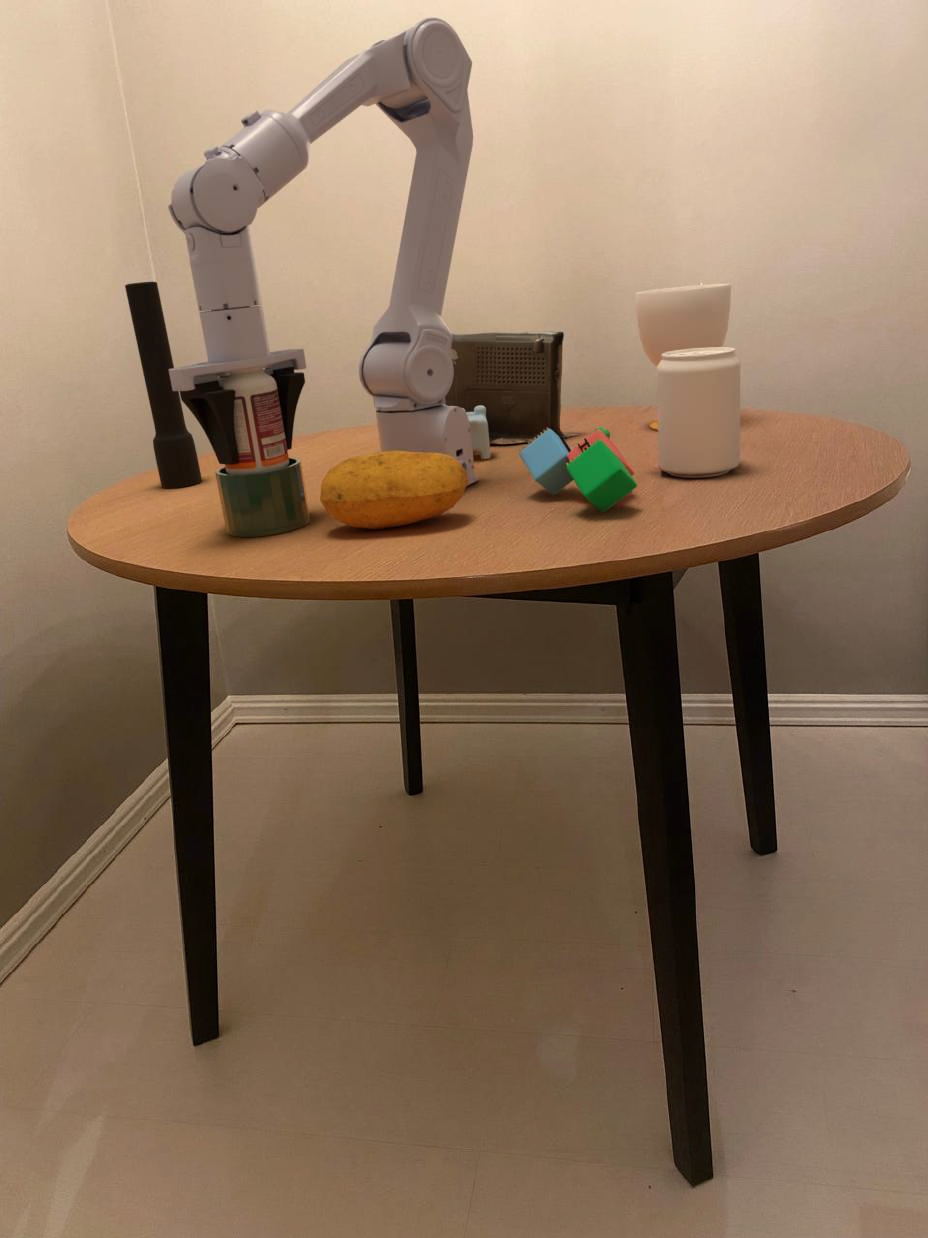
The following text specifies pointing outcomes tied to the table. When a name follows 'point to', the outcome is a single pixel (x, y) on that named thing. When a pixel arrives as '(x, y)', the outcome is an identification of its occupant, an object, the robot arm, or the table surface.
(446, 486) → the potato
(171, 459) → the flashlight
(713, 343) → the cup
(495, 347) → the radio
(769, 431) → the table surface
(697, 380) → the beverage can
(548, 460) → the building blocks
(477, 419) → the figurine
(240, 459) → the pill bottle
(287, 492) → the green round pot
